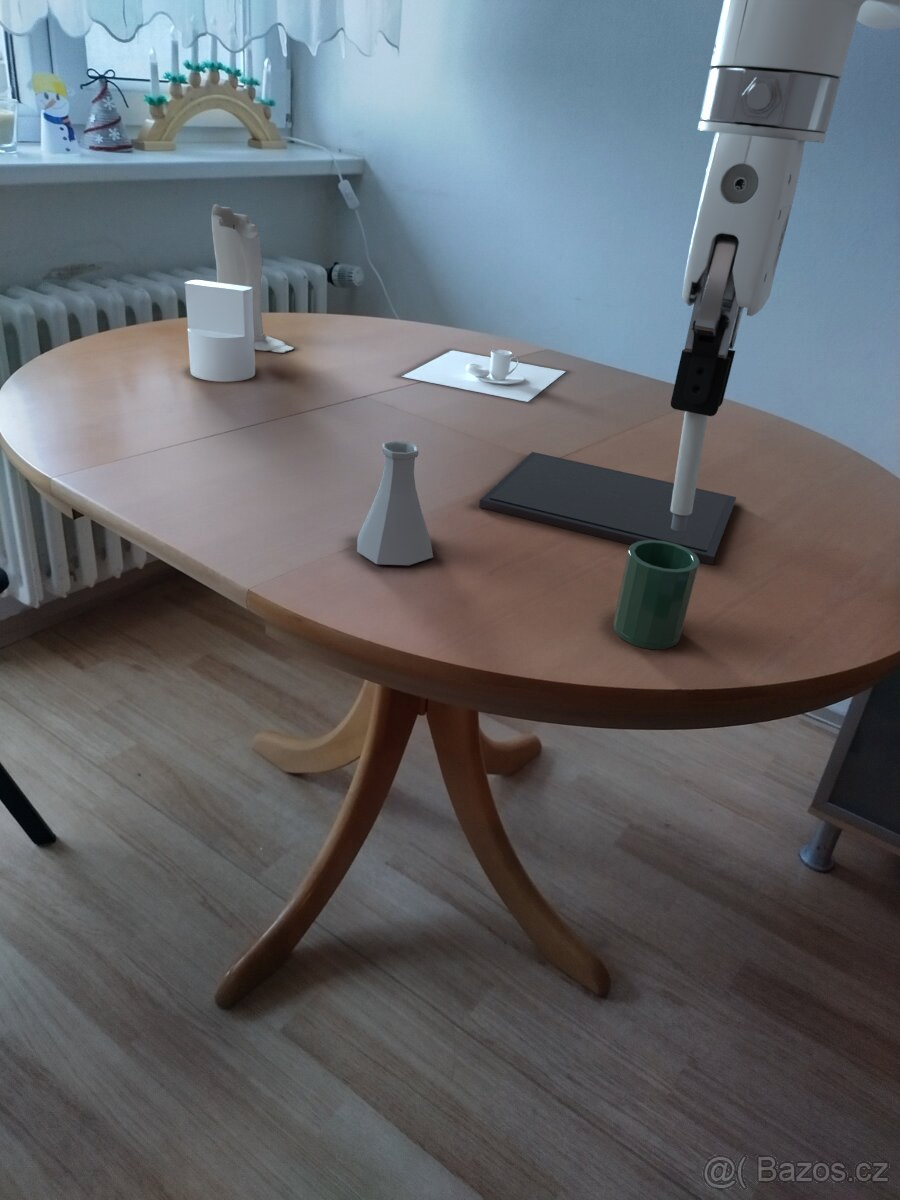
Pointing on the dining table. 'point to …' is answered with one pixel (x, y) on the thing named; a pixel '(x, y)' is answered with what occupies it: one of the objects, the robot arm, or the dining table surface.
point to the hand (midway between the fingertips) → (696, 405)
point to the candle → (242, 265)
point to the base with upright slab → (220, 331)
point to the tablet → (608, 504)
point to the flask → (396, 513)
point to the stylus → (687, 469)
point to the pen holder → (655, 593)
